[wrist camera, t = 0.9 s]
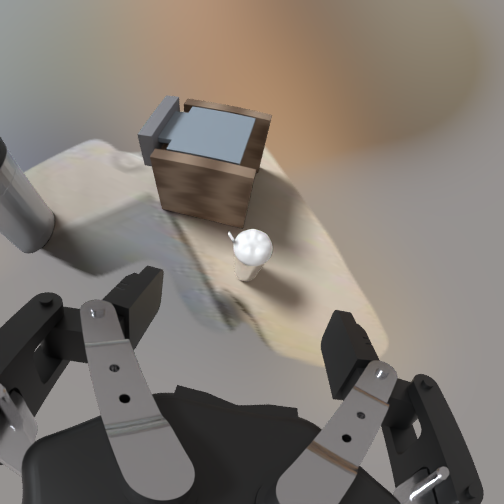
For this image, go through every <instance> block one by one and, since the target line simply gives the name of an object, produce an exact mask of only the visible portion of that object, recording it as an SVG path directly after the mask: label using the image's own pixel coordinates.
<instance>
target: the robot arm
mask: <svg viewBox="0 0 504 504" xmlns="http://www.w3.org/2000/svg"><path fill="white" fill-rule="evenodd" d="M54 221H55V219H54V215H53V212H52V211H51V210H50V208H49V207H48V206H47V204H46V203H45V202H44V200H43V199H42V198H41V196H40V195H39V194H38V192H37V191H36V190H35V188H34V187H33V185H32V184H31V183H30V181H29V180H28V178H27V177H26V176H25V174H24V173H23V171H22V170H21V168H20V167H19V165H18V164H17V162H16V161H15V159H14V158H13V156H12V155H11V153H10V152H9V150H8V149H7V147H6V145H5V144H4V142H3V141H2V139H1V137H0V233H1V234H3V235H4V236H5V237H6V238H7V239H8V240H9V241H10V242H11V243H13V244H14V245H15V246H16V247H17V248H19V249H20V250H21V251H22V252H24V253H33V252H36V251H37V250H39V249H41V248H42V247H43V246H44V245H45V244H46V242H47V241H48V240H49V238H50V236H51V234H52V231H53V228H54ZM162 284H163V270H162V269H158V268H155V267H151V266H147V267H145V268H144V269H143V270H142V272H140V274H137V273H133V274H131V275H128V276H126V277H125V278H124V279H123V280H122V281H121V282H120V283H119V284H118V285H117V286H116V287H115V288H114V289H113V290H111V292H110V293H109V294H108V295H107V296H105V298H104V299H103V300H91V301H88V302H86V303H84V304H83V305H82V306H81V309H76V308H68V307H63V302H62V299H61V297H60V296H58V295H57V294H55V293H49V292H48V293H41V294H38V295H36V296H35V297H33V298H32V299H31V300H30V301H29V302H28V303H27V304H26V305H24V306H23V307H22V308H21V309H20V310H19V311H18V312H17V313H16V314H15V315H14V316H12V317H11V318H10V319H9V320H8V321H7V322H6V323H5V324H4V325H3V326H2V327H1V328H0V465H5V466H6V467H8V468H9V469H10V470H12V471H13V472H15V473H16V474H18V475H19V476H21V477H22V483H23V499H22V504H480V503H481V502H482V499H483V487H482V484H481V481H480V479H479V476H478V473H477V470H476V468H475V465H474V462H473V460H472V457H471V455H470V453H469V450H468V448H467V445H466V443H465V441H464V438H463V436H462V434H461V431H460V429H459V427H458V425H457V423H456V421H455V418H454V416H453V414H452V412H451V410H450V408H449V406H448V404H447V402H446V400H445V398H444V396H443V394H442V392H441V390H440V388H439V386H438V385H437V383H436V382H435V381H434V380H433V379H432V378H431V377H429V376H427V375H424V374H418V375H416V376H415V377H414V378H413V380H412V381H411V382H408V381H405V380H402V379H398V378H397V373H396V371H395V370H394V368H393V367H392V366H390V365H389V364H387V363H385V362H382V361H380V360H379V358H378V356H377V354H376V352H375V350H374V348H373V346H372V345H371V342H370V340H369V337H368V335H367V333H366V331H365V330H364V329H363V328H362V327H361V326H360V325H359V324H356V322H355V320H354V317H353V315H352V314H351V313H350V312H345V311H340V310H335V311H334V312H333V314H332V317H331V319H330V321H329V323H328V326H327V328H326V330H325V333H324V335H323V337H322V341H321V351H322V355H323V359H324V363H325V367H326V371H327V375H328V380H329V384H330V389H331V393H332V397H333V399H337V400H343V403H342V404H341V405H340V407H339V408H338V410H337V411H336V412H335V413H334V415H333V416H332V417H331V419H330V420H329V421H328V423H327V424H326V425H325V427H324V428H323V429H320V428H319V427H318V426H316V425H315V424H313V423H311V422H309V421H307V420H305V419H303V418H300V417H298V412H297V408H291V407H283V406H276V405H235V404H232V403H230V402H227V401H225V400H223V399H220V398H218V397H216V396H213V395H211V394H208V393H206V392H202V391H198V390H194V389H190V388H186V387H183V386H179V385H177V387H176V390H175V393H157V394H151V392H150V390H149V387H148V385H147V383H146V380H145V378H144V376H143V374H142V371H141V368H140V366H139V364H138V361H137V359H136V356H135V353H134V349H135V348H136V346H137V344H138V342H139V341H140V339H141V338H142V336H143V335H144V333H145V331H146V330H147V328H148V326H149V325H150V323H151V322H152V320H153V318H154V317H155V315H156V313H157V312H158V310H159V307H160V303H161V295H162ZM39 344H41V345H40V346H39V347H38V348H37V346H38V345H39ZM36 348H37V350H36V351H35V349H36ZM34 351H35V352H34ZM70 361H76V362H83V363H88V366H89V370H90V375H91V379H92V383H93V388H94V392H95V396H96V399H97V403H98V407H99V410H100V414H101V415H100V416H98V417H96V418H93V419H91V420H88V421H86V422H83V423H81V424H78V425H75V426H73V427H70V428H68V429H65V430H62V431H59V432H57V433H54V434H51V435H48V436H45V437H43V438H41V439H39V440H37V441H35V437H36V434H37V430H38V429H37V422H36V420H35V419H34V417H35V415H36V414H37V412H38V410H39V409H40V407H41V405H42V404H43V402H44V400H45V399H46V397H47V395H48V394H49V392H50V391H51V389H52V388H53V386H54V384H55V383H56V381H57V380H58V378H59V376H60V375H61V374H62V372H63V371H64V369H65V368H66V366H67V365H68V363H69V362H70ZM417 419H419V422H420V424H421V428H422V431H421V435H420V437H419V439H417V436H416V434H415V430H414V428H413V425H412V424H413V423H414V422H415V421H416V420H417ZM380 426H381V427H382V431H383V434H384V438H385V442H386V446H387V450H388V455H389V459H390V464H391V468H392V472H393V477H394V482H395V487H396V489H395V491H394V493H393V495H392V494H391V493H390V492H389V491H388V490H387V489H385V488H384V487H383V486H382V485H381V484H380V483H378V482H377V481H376V480H375V479H374V478H372V476H370V475H369V474H368V473H367V472H366V471H365V470H364V469H363V468H362V467H360V466H359V465H360V464H361V462H362V460H363V458H364V457H365V455H366V453H367V451H368V449H369V447H370V445H371V444H372V442H373V440H374V438H375V436H376V434H377V432H378V430H379V428H380Z"/></svg>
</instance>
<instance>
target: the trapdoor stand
mask: <svg viewBox="0 0 504 504" xmlns="http://www.w3.org/2000/svg"><path fill="white" fill-rule="evenodd" d="M192 107H199V108H205V109H211V110H217V111H222V112H228V113H233V114H238V115H242V116H247V117H251V118H256V119H255V123H254V126H253V129H252V132H251V135H250V137H249V140H248V143H247V146H246V149H245V152H244V155H243V158H242V160H241V163H240V166H239V165H235V164H231V163H226V162H222V161H217V160H213V159H208V158H203V157H198V156H193V155H188V154H183V153H178V152H172V151H167V147H168V145H169V144H168V143H164V144H163V146H162V148H161V149H154V151H153V153H152V154H151V156H150V159H151V164H152V168H153V173H154V177H155V181H156V185H157V190H158V194H159V198H160V202H161V206H162V209H165V210H169V211H173V212H177V213H182V214H186V215H190V216H194V217H198V218H202V219H206V220H210V221H214V222H218V223H222V224H226V225H230V226H234V227H238V228H242V229H243V225H244V222H245V218H246V213H247V209H248V204H249V200H250V195H251V191H252V186H253V182H254V177H255V173H258V170H259V167H260V163H261V159H262V154H263V150H264V146H265V142H266V138H267V134H268V130H269V126H270V121H271V118H272V115H270V114H266V113H261V112H257V111H253V110H248V109H243V108H239V107H234V106H229V105H223V104H217V103H212V102H206V101H200V100H193V99H187V100H186V102H185V103H184V112H185V113H189V111H190V110H191V108H192Z"/></svg>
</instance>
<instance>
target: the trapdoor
mask: <svg viewBox="0 0 504 504" xmlns="http://www.w3.org/2000/svg"><path fill="white" fill-rule="evenodd" d="M255 119H256V118H251V117H247V116H242V115H238V114H233V113H228V112H222V111H217V110H211V109H205V108H199V107H192V108H191V110H190V111H189V113H185V112H180V107H179V97H175V96H166V97H165V98H164V100H163V101H162V102H161V103H160V105H159V106H158V107H157V108H156V110H155V111H154V112H153V114H152V115H151V116H150V118H149V119H148V120H147V122H146V123H145V125H144V126H143V127H142V129H141V130H140V132H139V133H138V138H139V143H140V147H141V151H142V155H143V160H144V164H145V165H147V166H152V164H151V159H150V156H151V154H152V153H153V151H154V149H161V148H162V146H163V144H164V143H168V144H169V145H168V147H167V151H172V152H178V153H183V154H188V155H193V156H198V157H203V158H208V159H213V160H217V161H222V162H226V163H231V164H235V165H239V166H240V163H241V160H242V158H243V155H244V152H245V149H246V146H247V143H248V140H249V137H250V135H251V132H252V129H253V126H254V123H255Z"/></svg>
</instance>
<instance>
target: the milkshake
mask: <svg viewBox="0 0 504 504" xmlns="http://www.w3.org/2000/svg"><path fill="white" fill-rule="evenodd" d="M228 235H229V237H230V239H231V240H232V242H233V243H234V246H233V249H234V272H235V276H236V277H237V278H238V279H239V280H241V281H245V282H248V281H250V280H253V279H254V278H255V276H256V275H257V273H258V272H259V271H260V269H261V268H262V267H263V266H264V265H265V263H266V262H267V261H268V260H269V259H270V257H271V255H272V251H273V246H272V243H271V240H270V238H269V237H268V235H267V234H265V233H264V232H262V231H259V230H256V229H249V230H246V231H243V232H241V233H240V234H238V236H237V237H236V239H235V240H234V238H233V236H232V235H231V233H230V231H229V232H228Z"/></svg>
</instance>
